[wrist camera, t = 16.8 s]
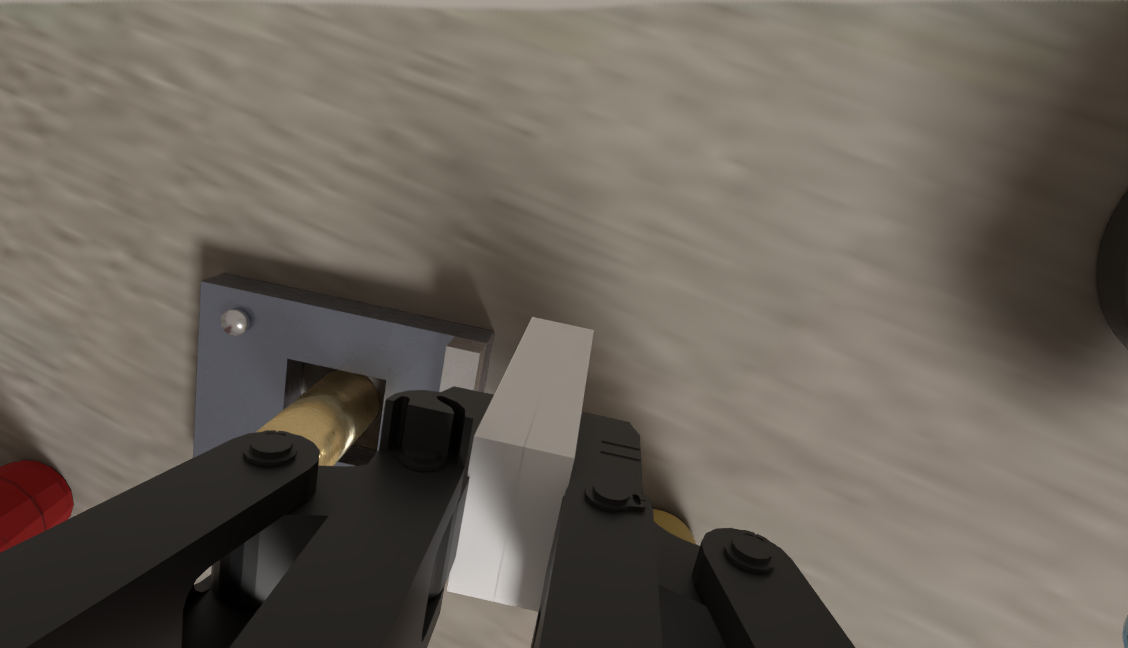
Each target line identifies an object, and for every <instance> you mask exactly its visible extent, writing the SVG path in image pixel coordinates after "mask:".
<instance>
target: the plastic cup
mask: <svg viewBox="0 0 1128 648" xmlns="http://www.w3.org/2000/svg"><path fill="white" fill-rule="evenodd" d="M73 505H74V504H73V498H72V493H71V490H70V488H69V487H68V485H67V483H66V482H65V480H64V478H63V477H62V476H60V475H59V474H58V473H57V472H56V471H55V470H54V469H52V468H51V467H49V466H47V465H45V464H42V463H40V462H38V461H28V460H22V461H19V462H12V463H9V464H6V465H4V466H1V467H0V553H1V552H3V551H5V550H7V549H9V548H11V547H13V546H15V545H17V544H19V543H21V542H23V541H25V540H27V539H29V538H31V537H33V536H35V535H38V534H40V533H42V532H44V531H46V530H48V529H50V528H52V527H54V526H56V525H58V524H60V523H62V522H64V521H66V520H67V519H68V518H69V517H70V516H71V512H72V509H73Z"/></svg>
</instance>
